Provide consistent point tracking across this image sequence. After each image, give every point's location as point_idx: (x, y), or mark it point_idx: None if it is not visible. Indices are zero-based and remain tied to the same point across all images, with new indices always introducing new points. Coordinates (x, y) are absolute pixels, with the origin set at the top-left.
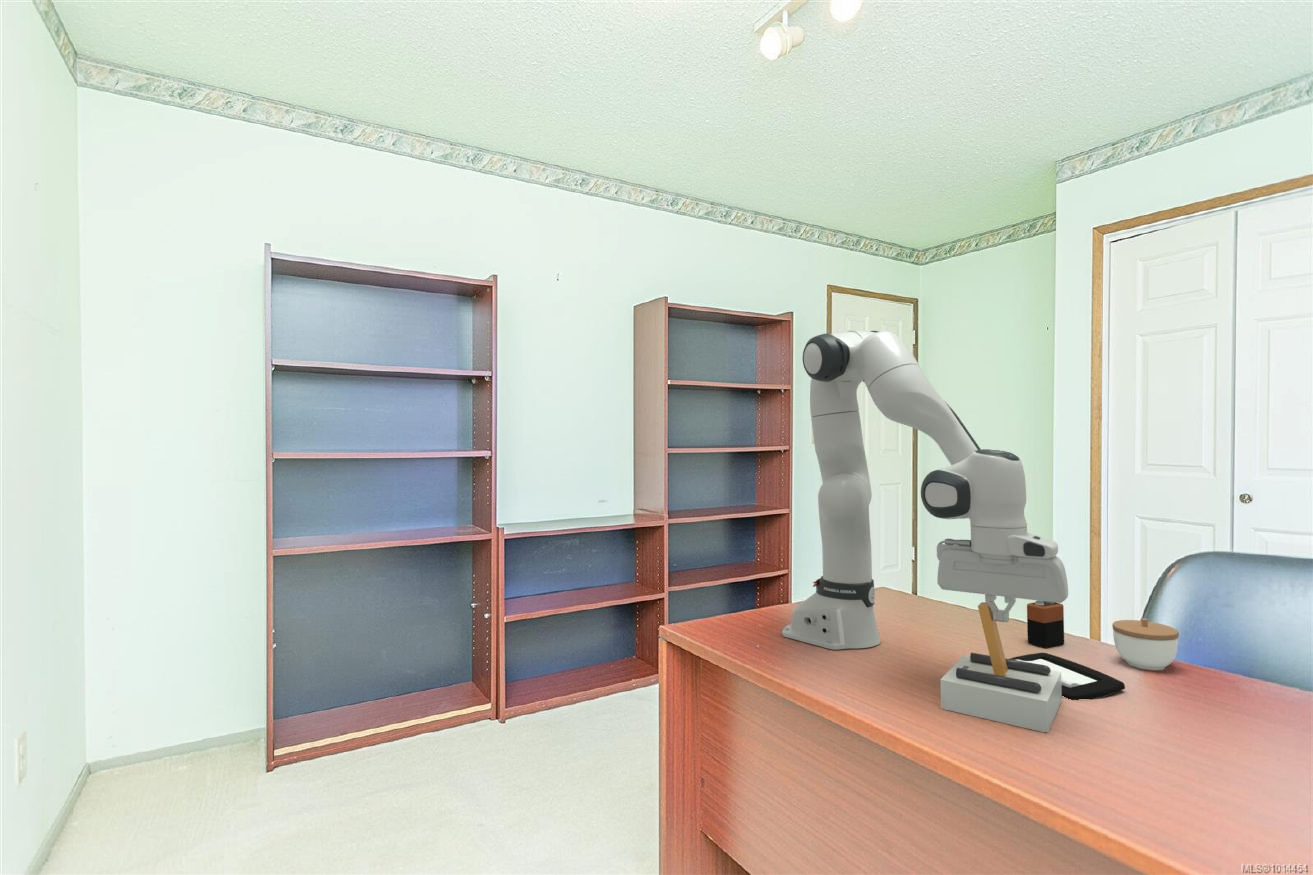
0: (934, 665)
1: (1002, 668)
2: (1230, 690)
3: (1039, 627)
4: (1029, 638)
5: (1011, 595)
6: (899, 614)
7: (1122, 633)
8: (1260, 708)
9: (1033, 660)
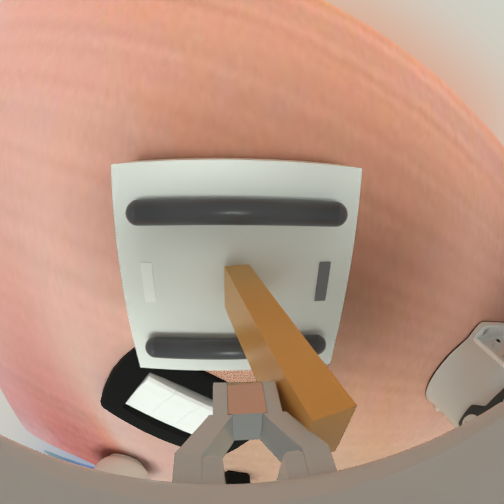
0: (363, 364)
1: (229, 273)
2: (50, 425)
3: None
4: (247, 479)
5: (171, 491)
6: None
7: None
8: (18, 393)
9: None
